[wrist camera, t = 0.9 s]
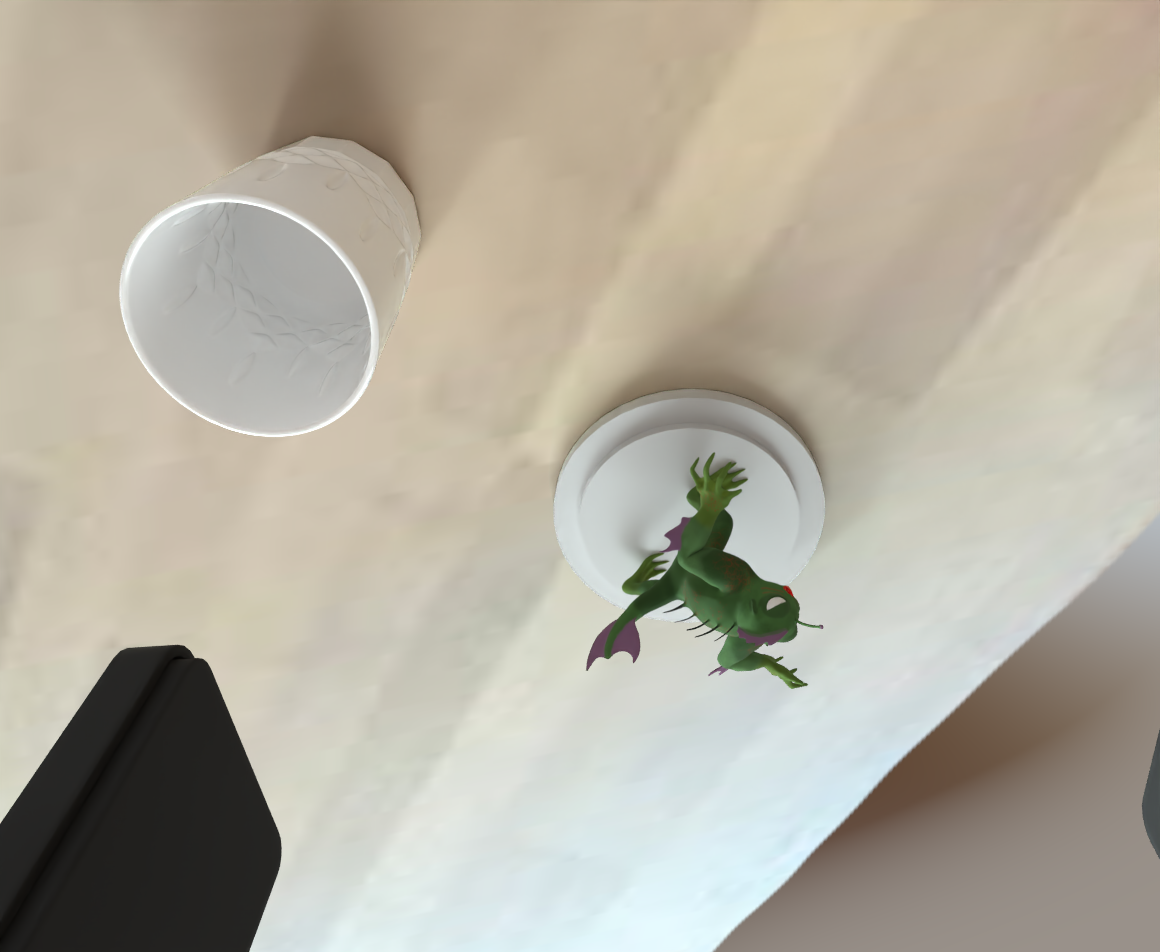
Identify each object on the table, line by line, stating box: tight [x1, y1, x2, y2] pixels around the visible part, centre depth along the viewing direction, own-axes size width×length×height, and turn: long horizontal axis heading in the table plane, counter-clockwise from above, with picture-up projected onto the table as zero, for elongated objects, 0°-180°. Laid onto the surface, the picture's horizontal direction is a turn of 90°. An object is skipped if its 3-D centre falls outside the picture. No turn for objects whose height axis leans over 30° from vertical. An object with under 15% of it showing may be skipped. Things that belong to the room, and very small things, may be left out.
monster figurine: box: [554, 389, 825, 689], centre depth 40 cm, size 12×12×10 cm
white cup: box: [119, 136, 422, 437], centre depth 34 cm, size 8×8×10 cm
